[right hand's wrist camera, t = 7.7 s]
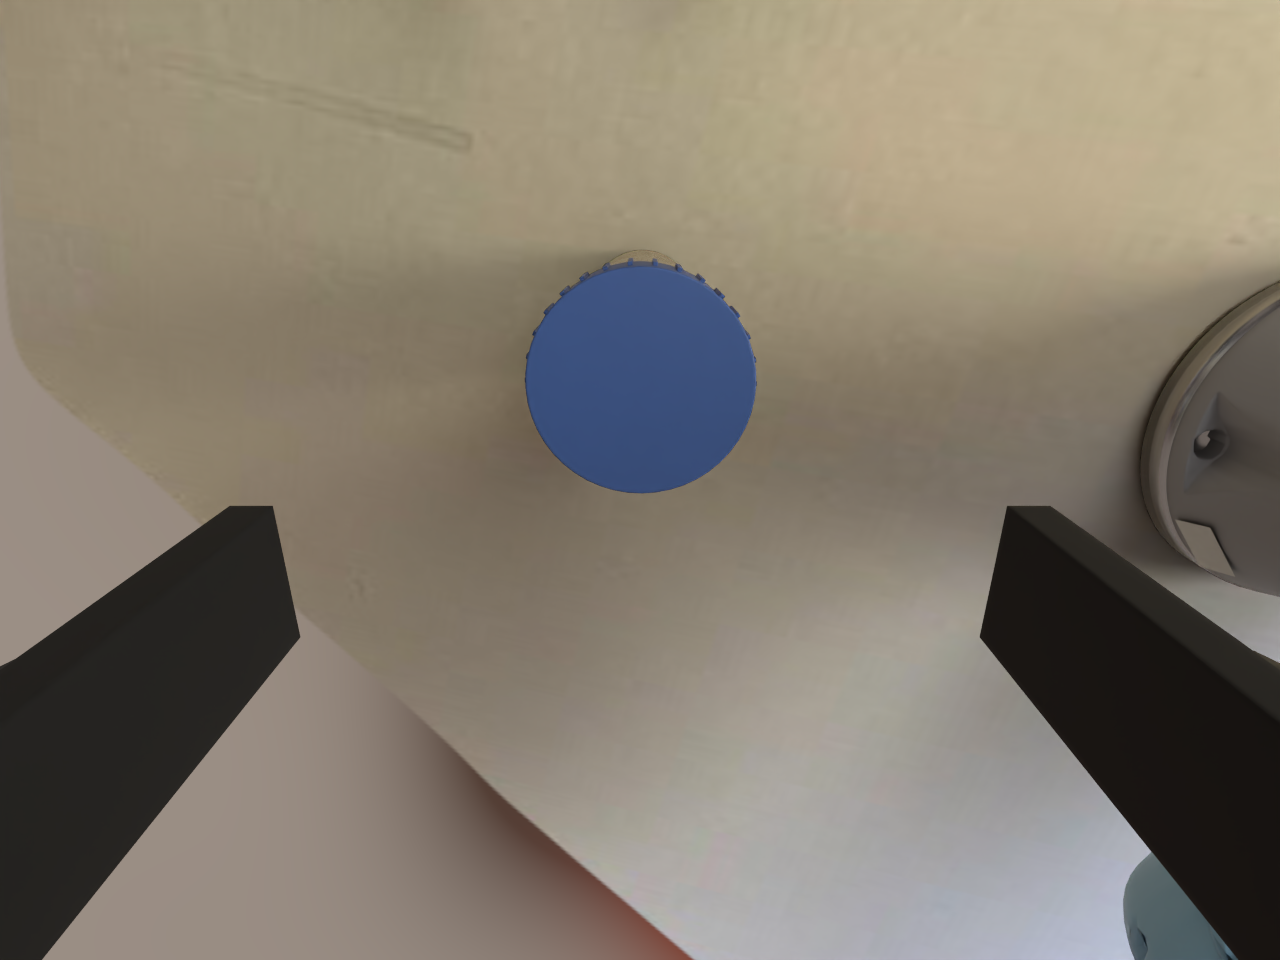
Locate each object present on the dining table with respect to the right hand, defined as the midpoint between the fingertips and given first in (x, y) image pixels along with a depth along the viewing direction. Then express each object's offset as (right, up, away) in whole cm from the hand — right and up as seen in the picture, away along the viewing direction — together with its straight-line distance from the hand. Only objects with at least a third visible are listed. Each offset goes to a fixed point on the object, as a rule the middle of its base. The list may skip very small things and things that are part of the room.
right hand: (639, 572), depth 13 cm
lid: (0, +4, +3) cm, 5 cm away
